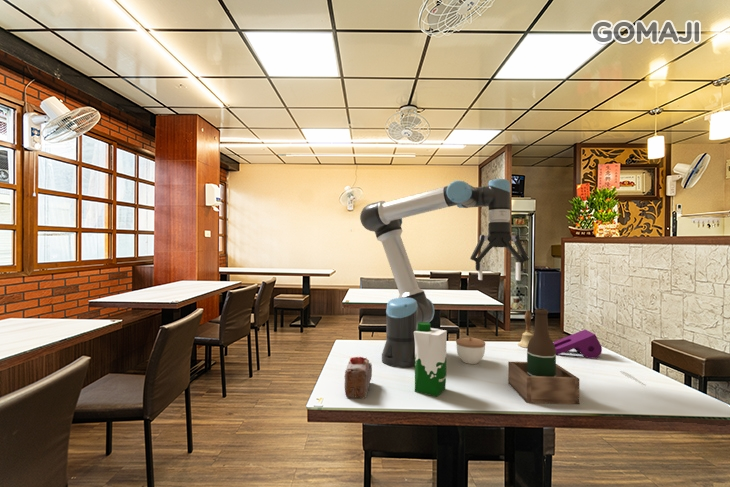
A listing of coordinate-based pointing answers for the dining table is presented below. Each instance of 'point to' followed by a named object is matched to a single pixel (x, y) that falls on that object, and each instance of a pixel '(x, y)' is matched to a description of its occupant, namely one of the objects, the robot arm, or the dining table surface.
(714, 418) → the dining table surface
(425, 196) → the robot arm
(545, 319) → the beer bottle
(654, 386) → the dining table surface
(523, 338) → the hand bell
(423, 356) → the milk carton
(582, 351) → the mounting bracket
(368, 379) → the food item
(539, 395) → the walnut box
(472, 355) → the lidded jar
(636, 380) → the butter knife
